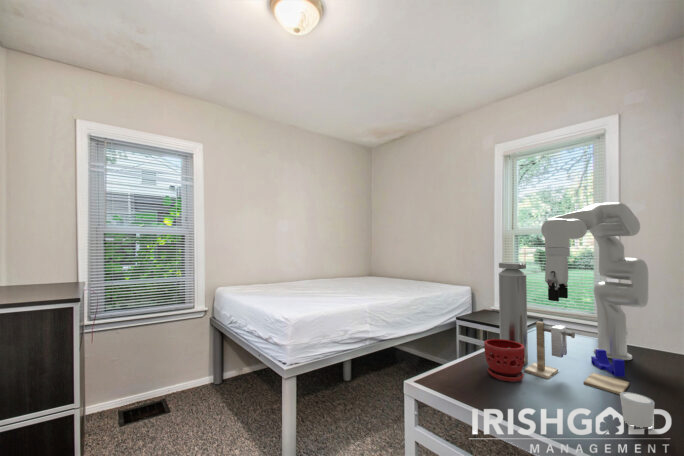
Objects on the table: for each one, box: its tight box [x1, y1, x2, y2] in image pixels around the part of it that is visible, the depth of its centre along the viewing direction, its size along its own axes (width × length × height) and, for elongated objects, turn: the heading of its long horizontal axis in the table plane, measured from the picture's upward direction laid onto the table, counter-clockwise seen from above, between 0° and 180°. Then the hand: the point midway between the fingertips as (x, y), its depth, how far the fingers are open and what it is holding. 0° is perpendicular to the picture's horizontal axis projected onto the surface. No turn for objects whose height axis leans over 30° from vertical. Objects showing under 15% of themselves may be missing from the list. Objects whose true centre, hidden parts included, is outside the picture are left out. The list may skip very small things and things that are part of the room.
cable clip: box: [590, 348, 626, 378], centre depth 121 cm, size 12×4×6 cm, turn 169°
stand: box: [523, 320, 576, 380], centre depth 116 cm, size 10×15×18 cm
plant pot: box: [483, 338, 525, 382], centre depth 114 cm, size 13×13×12 cm
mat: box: [583, 372, 630, 395], centre depth 108 cm, size 12×10×1 cm
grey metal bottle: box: [498, 261, 529, 367], centre depth 129 cm, size 10×10×40 cm
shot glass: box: [619, 391, 655, 428], centre depth 84 cm, size 7×7×7 cm
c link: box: [550, 324, 568, 358], centre depth 114 cm, size 6×3×10 cm, turn 129°
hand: (558, 299), depth 115 cm, fingers open, 9 cm apart
